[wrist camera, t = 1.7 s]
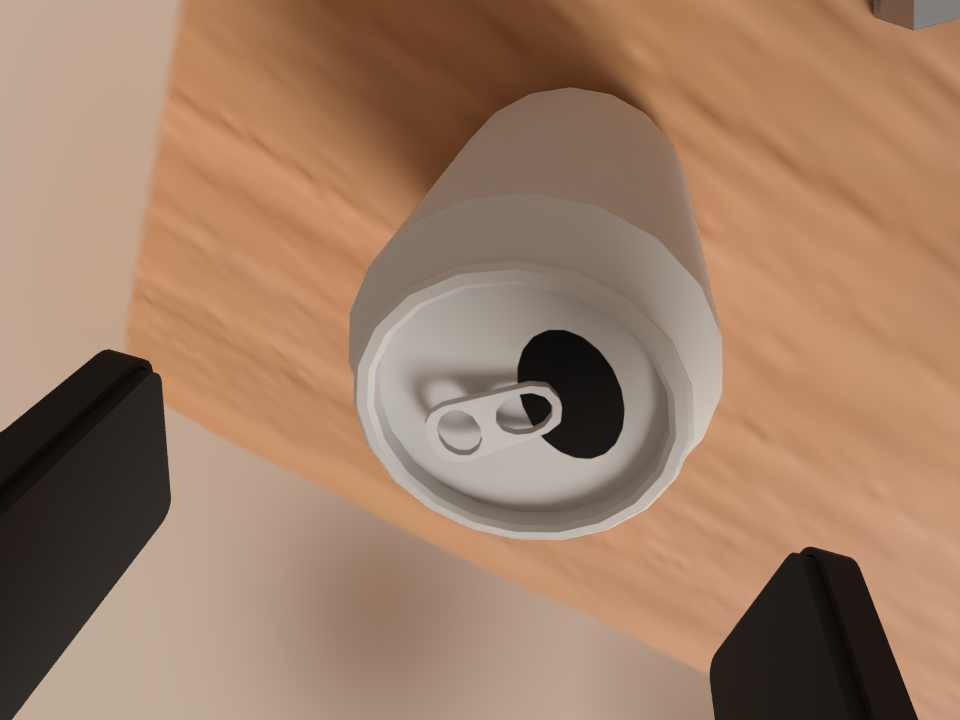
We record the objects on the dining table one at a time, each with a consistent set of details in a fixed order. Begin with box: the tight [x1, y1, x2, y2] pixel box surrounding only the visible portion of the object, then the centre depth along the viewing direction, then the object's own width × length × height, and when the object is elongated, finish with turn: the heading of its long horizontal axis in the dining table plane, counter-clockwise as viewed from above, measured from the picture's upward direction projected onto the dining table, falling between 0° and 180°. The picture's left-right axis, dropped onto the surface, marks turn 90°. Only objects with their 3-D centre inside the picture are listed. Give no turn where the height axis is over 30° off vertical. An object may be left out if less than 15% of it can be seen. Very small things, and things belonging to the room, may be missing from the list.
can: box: [349, 87, 722, 540], centre depth 17 cm, size 8×8×12 cm
